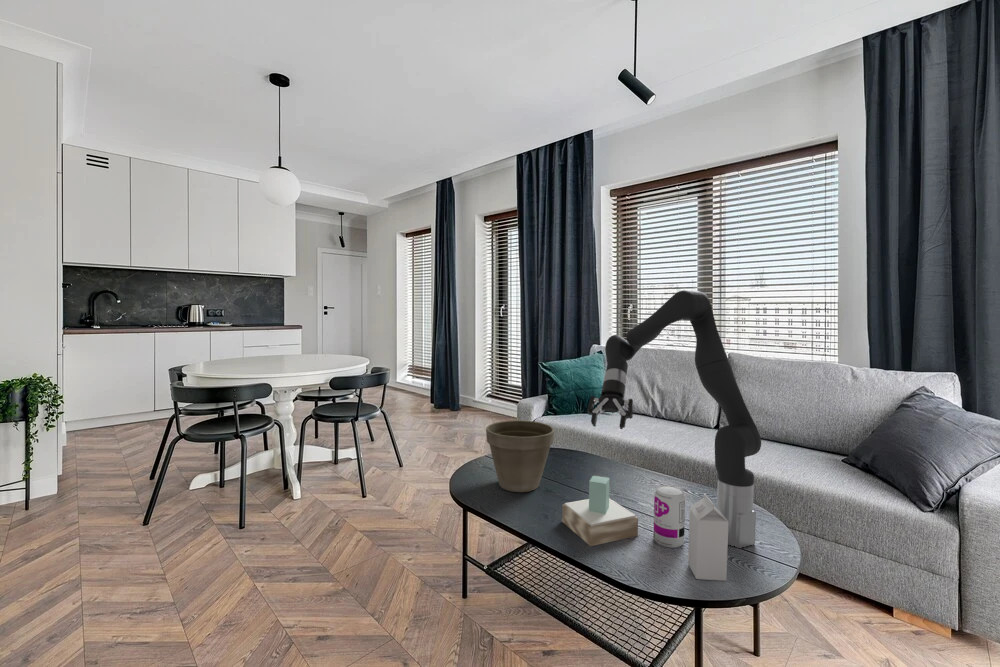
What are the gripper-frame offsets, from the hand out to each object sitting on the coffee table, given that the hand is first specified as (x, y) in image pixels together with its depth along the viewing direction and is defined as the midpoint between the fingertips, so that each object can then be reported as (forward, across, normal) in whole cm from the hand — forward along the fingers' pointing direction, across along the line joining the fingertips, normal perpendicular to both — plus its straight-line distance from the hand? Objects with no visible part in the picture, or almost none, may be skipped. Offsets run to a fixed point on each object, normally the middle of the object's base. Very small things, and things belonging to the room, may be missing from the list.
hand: (607, 426), depth 153 cm
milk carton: (+37, +30, +3) cm, 48 cm away
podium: (+28, 0, +12) cm, 31 cm away
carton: (+24, 0, +8) cm, 25 cm away
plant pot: (+12, -34, +28) cm, 46 cm away
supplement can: (+28, +20, +12) cm, 37 cm away
